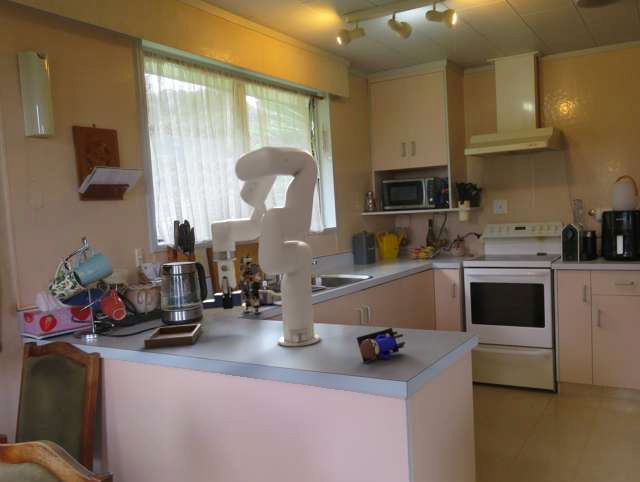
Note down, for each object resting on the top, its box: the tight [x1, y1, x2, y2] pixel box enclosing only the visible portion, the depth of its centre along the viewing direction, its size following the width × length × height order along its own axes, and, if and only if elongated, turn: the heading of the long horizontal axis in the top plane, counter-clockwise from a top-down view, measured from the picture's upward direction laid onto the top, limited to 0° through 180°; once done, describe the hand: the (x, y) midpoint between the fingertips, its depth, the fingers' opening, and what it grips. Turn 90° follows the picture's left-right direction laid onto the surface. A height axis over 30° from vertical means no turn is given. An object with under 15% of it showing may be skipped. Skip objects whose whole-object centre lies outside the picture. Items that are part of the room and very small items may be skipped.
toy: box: [237, 252, 263, 316], centre depth 222 cm, size 14×9×25 cm, turn 47°
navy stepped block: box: [201, 290, 247, 316], centre depth 189 cm, size 6×14×6 cm, turn 100°
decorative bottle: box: [237, 289, 281, 306], centre depth 245 cm, size 26×8×7 cm, turn 68°
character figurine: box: [356, 327, 406, 363], centre depth 144 cm, size 8×7×15 cm
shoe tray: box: [143, 323, 203, 350], centre depth 181 cm, size 20×15×3 cm
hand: (229, 306), depth 189 cm, fingers closed on navy stepped block, 6 cm apart
